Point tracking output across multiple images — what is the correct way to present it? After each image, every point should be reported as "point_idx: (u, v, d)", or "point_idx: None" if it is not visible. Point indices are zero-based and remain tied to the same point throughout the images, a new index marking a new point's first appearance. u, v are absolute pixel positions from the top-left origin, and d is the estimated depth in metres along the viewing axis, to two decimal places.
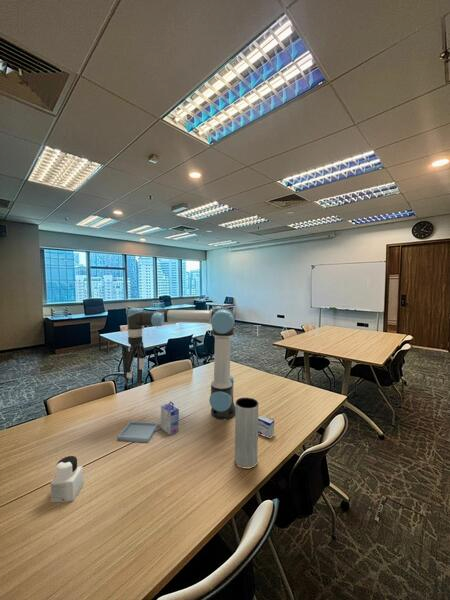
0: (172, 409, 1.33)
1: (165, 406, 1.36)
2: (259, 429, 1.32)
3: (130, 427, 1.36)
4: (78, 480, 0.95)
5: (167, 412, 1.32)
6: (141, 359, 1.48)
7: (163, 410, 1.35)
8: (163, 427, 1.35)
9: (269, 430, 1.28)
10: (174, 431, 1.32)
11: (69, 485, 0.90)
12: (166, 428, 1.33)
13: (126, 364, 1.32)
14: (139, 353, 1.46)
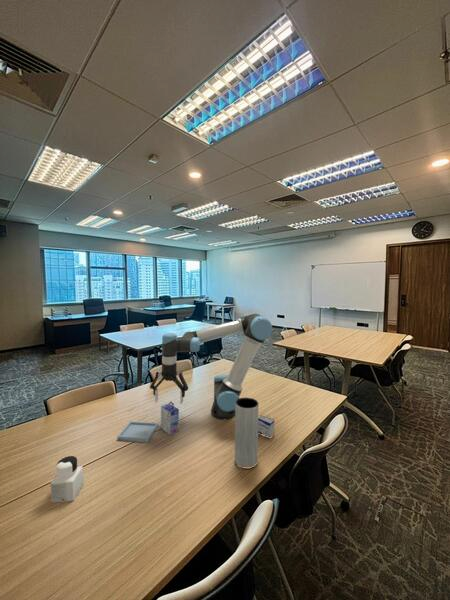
0: (172, 409, 1.33)
1: (165, 406, 1.36)
2: (259, 429, 1.32)
3: (130, 427, 1.36)
4: (78, 480, 0.95)
5: (167, 412, 1.32)
6: (181, 392, 1.33)
7: (163, 410, 1.35)
8: (163, 427, 1.35)
9: (269, 429, 1.28)
10: (174, 431, 1.32)
11: (69, 485, 0.90)
12: (166, 428, 1.33)
13: (151, 385, 1.35)
14: None
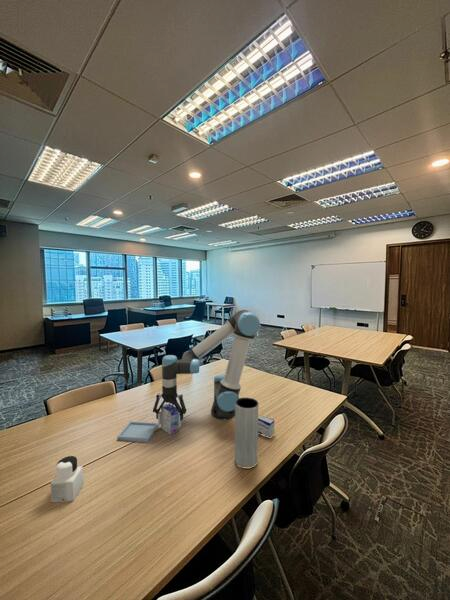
0: (172, 409, 1.33)
1: (165, 406, 1.36)
2: (259, 429, 1.32)
3: (130, 427, 1.36)
4: (78, 480, 0.95)
5: (167, 412, 1.32)
6: (179, 415, 1.34)
7: (163, 410, 1.35)
8: (163, 427, 1.35)
9: (269, 429, 1.28)
10: (174, 431, 1.32)
11: (69, 485, 0.90)
12: (166, 428, 1.33)
13: None
14: None
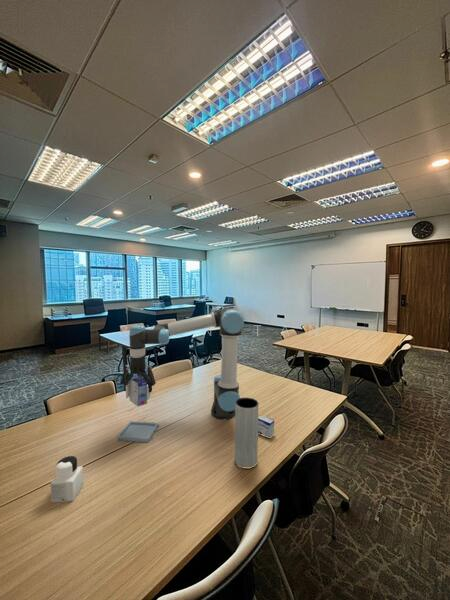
0: (140, 380, 1.28)
1: (134, 378, 1.31)
2: (259, 429, 1.32)
3: (130, 427, 1.36)
4: (78, 480, 0.95)
5: (135, 383, 1.27)
6: None
7: (131, 382, 1.30)
8: (131, 399, 1.30)
9: (269, 429, 1.28)
10: (142, 403, 1.27)
11: (69, 485, 0.90)
12: (134, 400, 1.28)
13: None
14: None
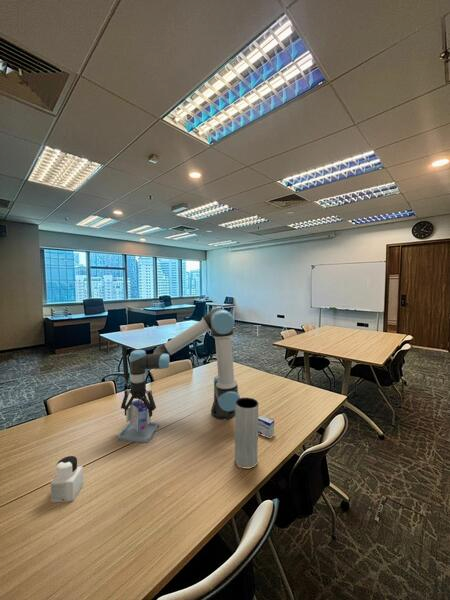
0: (140, 405, 1.29)
1: (134, 402, 1.32)
2: (259, 429, 1.32)
3: (130, 427, 1.36)
4: (78, 480, 0.95)
5: (135, 408, 1.28)
6: None
7: (131, 407, 1.31)
8: (132, 424, 1.31)
9: (269, 430, 1.28)
10: (142, 428, 1.28)
11: (69, 485, 0.90)
12: (134, 425, 1.29)
13: None
14: None
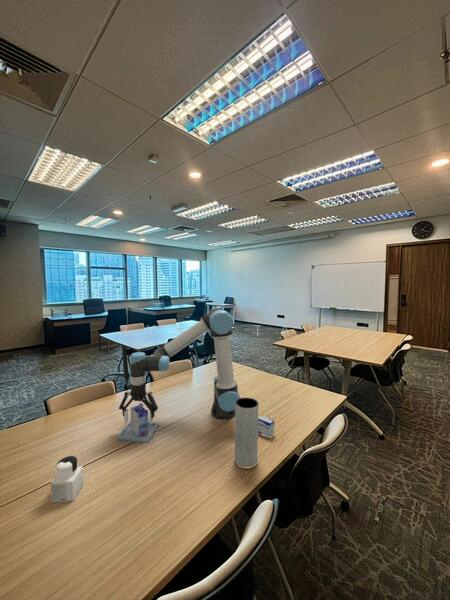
0: (141, 411, 1.29)
1: (135, 407, 1.32)
2: (259, 429, 1.32)
3: (130, 427, 1.36)
4: (78, 480, 0.95)
5: (136, 414, 1.29)
6: None
7: (132, 412, 1.32)
8: (132, 429, 1.32)
9: (269, 429, 1.28)
10: (143, 433, 1.28)
11: (69, 485, 0.90)
12: (135, 431, 1.29)
13: None
14: None
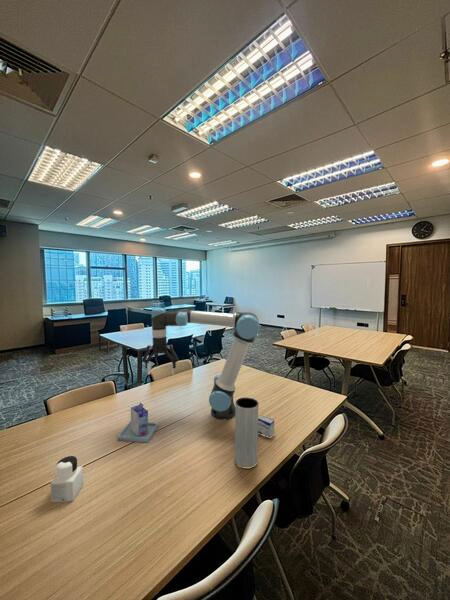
0: (141, 411, 1.29)
1: (135, 407, 1.32)
2: (259, 429, 1.32)
3: (130, 427, 1.36)
4: (78, 480, 0.95)
5: (136, 414, 1.28)
6: None
7: (132, 412, 1.32)
8: (132, 429, 1.32)
9: (269, 430, 1.28)
10: (143, 433, 1.28)
11: (69, 485, 0.90)
12: (135, 431, 1.29)
13: None
14: None
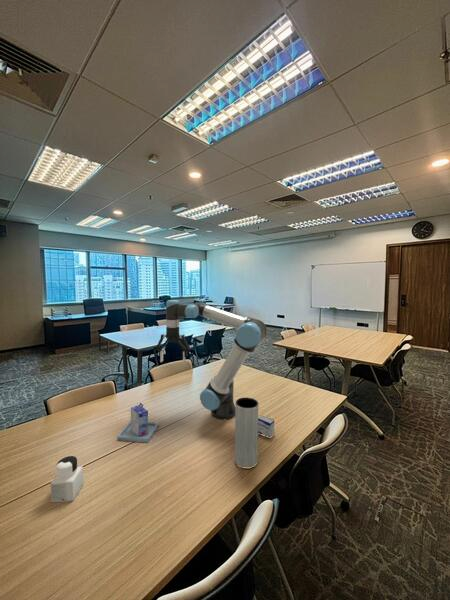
0: (141, 411, 1.29)
1: (135, 407, 1.32)
2: (259, 429, 1.32)
3: (130, 427, 1.36)
4: (78, 480, 0.95)
5: (136, 414, 1.29)
6: None
7: (132, 412, 1.32)
8: (132, 429, 1.32)
9: (269, 429, 1.28)
10: (143, 433, 1.28)
11: (69, 485, 0.90)
12: (135, 431, 1.29)
13: None
14: None
